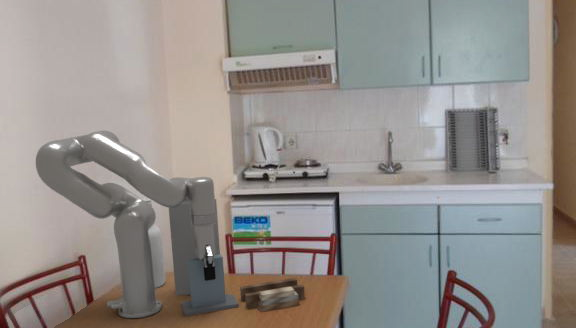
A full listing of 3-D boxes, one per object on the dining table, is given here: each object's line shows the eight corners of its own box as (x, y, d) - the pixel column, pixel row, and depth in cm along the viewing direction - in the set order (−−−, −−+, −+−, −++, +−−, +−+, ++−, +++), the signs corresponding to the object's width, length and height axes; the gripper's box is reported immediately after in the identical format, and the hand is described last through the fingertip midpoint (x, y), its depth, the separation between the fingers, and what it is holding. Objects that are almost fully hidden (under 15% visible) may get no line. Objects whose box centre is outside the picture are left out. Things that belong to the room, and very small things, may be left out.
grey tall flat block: (222, 288, 172) (216, 199, 168) (218, 294, 167) (212, 202, 163) (180, 288, 173) (173, 200, 170) (175, 294, 168) (168, 203, 164)
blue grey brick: (192, 307, 154) (189, 261, 152) (191, 304, 157) (187, 259, 155) (225, 301, 157) (222, 256, 155) (223, 298, 160) (220, 254, 158)
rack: (247, 309, 153) (246, 296, 153) (241, 299, 161) (240, 286, 161) (304, 298, 159) (304, 286, 158) (295, 289, 167) (295, 277, 166)
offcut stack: (260, 311, 151) (259, 296, 150) (257, 307, 154) (256, 292, 153) (299, 304, 154) (298, 289, 154) (295, 300, 158) (294, 285, 157)
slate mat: (184, 316, 150) (184, 312, 150) (181, 305, 159) (181, 302, 159) (238, 306, 155) (238, 303, 155) (232, 296, 164) (232, 293, 164)
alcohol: (135, 289, 175) (127, 202, 172) (145, 280, 184) (138, 197, 180) (160, 289, 174) (152, 201, 171) (169, 280, 183) (162, 196, 179)
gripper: (186, 215, 161) (191, 268, 163) (194, 226, 145) (199, 286, 147) (210, 212, 163) (214, 265, 165) (221, 223, 147) (225, 281, 149)
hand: (207, 274), depth 156 cm, fingers open, 9 cm apart
